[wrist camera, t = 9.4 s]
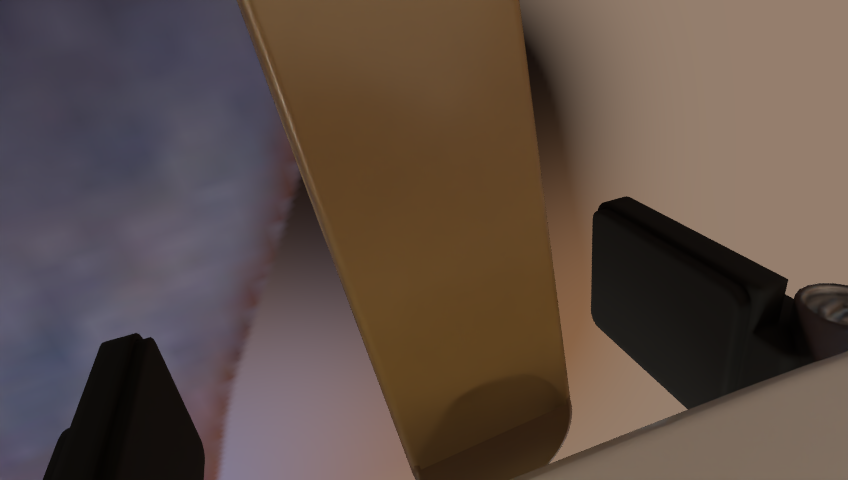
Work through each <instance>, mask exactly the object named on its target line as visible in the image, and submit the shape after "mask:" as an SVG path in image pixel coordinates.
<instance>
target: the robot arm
mask: <svg viewBox="0 0 848 480" xmlns="http://www.w3.org/2000/svg"><path fill="white" fill-rule="evenodd" d="M787 282H788V279H786V278H784V277H782V276H780V275H779V274H777V273H775V272H773V271H771V270H769V269H767V268H765V267H763V266H761V265H759V264H757V263H755V262H754V261H752V260H750V259H748V258H746V257H744V256H742V255H740V254H738V253H736V252H734V251H732V250H730V249H729V248H727V247H725V246H723V245H721V244H719V243H717V242H715V241H713V240H711V239H709V238H707V237H705V236H703V235H702V234H700V233H698V232H696V231H694V230H692V229H690V228H688V227H686V226H684V225H682V224H680V223H678V222H677V221H674V220H673V219H671V218H669V217H667V216H665V215H663V214H661V213H659V212H657V211H655V210H653V209H651V208H650V207H648V206H646V205H644V204H642V203H640V202H638V201H636V200H634V199H632V198H630V197H622V198H618V199H615V200H611V201H607V202H604V203H602V204H601V205H600V206H599V208H598V211H596V212H595V213H594V215H593V235H592V290H591V291H592V292H591V294H592V295H591V314H592V317H593V320H594V322H595V324H596V325H597V326H598V327H599V328H600V329H601V330H602V331H603V332H604V333H605V334H606V335H607V336H608V337H609V338H611V339H612V340H613V341H614V342H615V343H616V344H617V345H618V346H619V347H620V348H621V349H623V350H624V351H625V352H626V353H627V354H628V355H629V356H630V357H631V358H632V359H633V360H635V361H636V362H637V363H638V364H639V365H640V366H641V367H642V368H643V369H644V370H646V371H647V372H648V373H649V374H650V375H651V376H652V377H653V378H654V379H655V380H656V381H657V382H659V383H660V384H661V385H662V386H663V387H664V388H665V389H666V390H667V391H668V392H670V394H672V395H673V396H674V397H675V398H676V399H677V400H678V401H679V402H680V403H681V404H682V405H684V406H685V407H686V408H687V409H688V410H686V411H683V412H681V413H678V414H676V415H673V416H671V417H668V418H665V419H663V420H660V421H658V422H655V423H653V424H650V425H647V426H645V427H642V428H640V429H637V430H635V431H632V432H629V433H627V434H624V435H622V436H619V437H617V438H614V439H612V440H609V441H607V442H604V443H602V444H599V445H596V446H594V447H591V448H589V449H586V450H584V451H581V452H579V453H576V454H574V455H571V456H568V457H566V458H563V459H561V460H558V461H556V462H553V463H551V464H548V465H546V466H543V467H541V468H538V469H536V470H533V471H531V472H528V473H525V474H523V475H520V476H518V477H515V478H513V479H510V480H848V285H841V284H834V283H832V284H831V283H830V284H829V283H822V284H821V283H819V284H813V285H808V286H806V287H804V288H802V289H799V291H798V292H797V293H796V294H795V297H794V299H793V298H791V297H789V296H787V295H785V291H786V287H787ZM204 464H205V455H204V449H203V445H202V442H201V439H200V437H199V435H198V432H197V430H196V428H195V426H194V424H193V422H192V420H191V417H190V415H189V413H188V411H187V409H186V407H185V405H184V402H183V400H182V398H181V396H180V394H179V392H178V389H177V387H176V385H175V383H174V381H173V379H172V377H171V374H170V372H169V370H168V368H167V366H166V364H165V361H164V359H163V357H162V355H161V353H160V351H159V349H158V346H157V344H156V342H155V341H154V339H153V338H151V337H149V338H146V339H143V338H142V337H141V336H140V335H139V334H137V333H135V334H131V335H128V336H124V337H120V338H117V339H113V340H110V341H106V342H103V343H102V344H101V346H100V348H99V350H98V353H97V356H96V359H95V361H94V364H93V367H92V369H91V372H90V375H89V377H88V380H87V383H86V386H85V388H84V391H83V394H82V396H81V399H80V402H79V405H78V407H77V410H76V413H75V415H74V418H73V421H72V423H71V426H70V428H68V429H66V430H65V431H64V432H62V434H61V436H60V437H59V439H58V441H57V444H56V447H55V449H54V452H53V454H52V457H51V459H50V462H49V465H48V467H47V470H46V472H45V475H44V478H43V480H204Z"/></svg>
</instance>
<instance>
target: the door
mask: <svg viewBox="0 0 848 480" xmlns="http://www.w3.org/2000/svg"><path fill="white" fill-rule="evenodd" d="M237 2H238V5H239V8H240V10H241V13H242V16H243V19H244V21H245V24H246V27H247V29H248V32H249V35H250V38H251V40H252V43H253V46H254V48H255V51H256V54H257V56H258V59H259V62H260V65H261V67H262V70H263V73H264V75H265V78H266V81H267V84H268V86H269V89H270V92H271V94H272V97H273V100H274V103H275V105H276V108H277V111H278V113H279V116H280V119H281V121H282V124H283V127H284V130H285V132H286V135H287V138H288V140H289V143H290V146H291V149H292V151H293V154H294V157H295V159H296V162H297V165H298V167H299V170H300V173H301V176H302V178H303V181H304V184H305V186H306V189H307V192H308V195H309V197H310V200H311V203H312V205H313V208H314V211H315V214H316V216H317V219H318V222H319V224H320V227H321V229H322V232H323V235H324V238H325V240H326V243H327V246H328V248H329V251H330V254H331V256H332V259H333V261H334V264H335V267H336V270H337V272H338V275H339V278H340V280H341V283H342V285H343V288H344V291H345V294H346V296H347V299H348V302H349V304H350V307H351V310H352V312H353V315H354V318H355V320H356V323H357V326H358V328H359V331H360V333H361V336H362V339H363V342H364V345H365V347H366V350H367V353H368V355H369V358H370V360H371V363H372V366H373V368H374V371H375V374H376V376H377V379H378V382H379V385H380V387H381V390H382V393H383V395H384V398H385V401H386V403H387V406H388V408H389V411H390V414H391V417H392V419H393V422H394V425H395V427H396V430H397V433H398V435H399V438H400V440H401V443H402V446H403V449H404V451H405V454H406V457H407V459H408V462H409V465H410V467H411V470H412V473H413V475H414V477H415V479H416V480H510V479H513V478H515V477H518V476H520V475H523V474H525V473H528V472H531V471H533V470H536V469H538V468H541V467H543V466H546V465H548V464H549V463H550V462H551V460H552V459H553V458H554V457H555V456H556V454H557V453H558V451H559V450H560V448H561V447H562V445H563V443H564V441H565V439H566V437H567V434H568V431H569V428H570V424H571V418H572V405H571V401H570V395H569V386H568V378H567V370H566V363H565V356H564V347H563V339H562V331H561V324H560V316H559V308H558V300H557V292H556V285H555V278H554V269H553V262H552V253H551V246H550V238H549V230H548V222H547V215H546V207H545V199H544V191H543V183H542V175H541V168H540V160H539V152H538V144H537V138H536V137H537V136H536V128H535V122H534V113H533V105H532V97H531V89H530V82H529V74H528V66H527V58H526V50H525V43H524V35H523V27H522V20H521V11H520V4H519V0H237Z"/></svg>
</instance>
